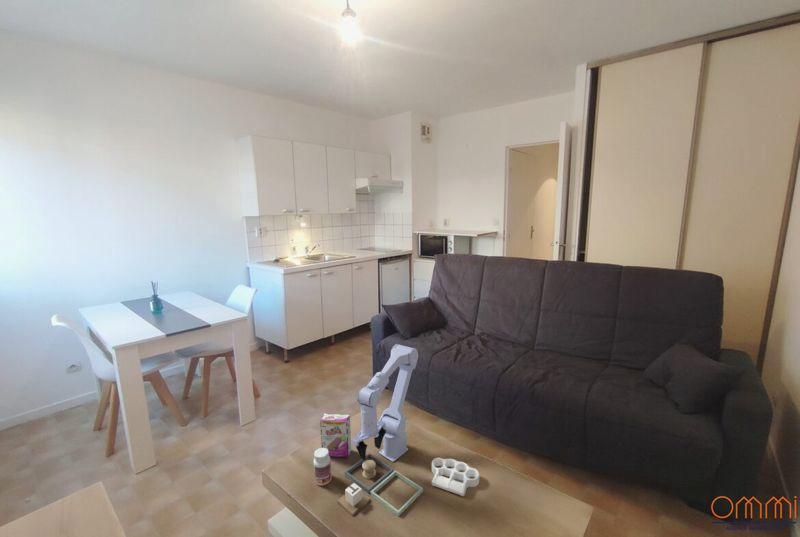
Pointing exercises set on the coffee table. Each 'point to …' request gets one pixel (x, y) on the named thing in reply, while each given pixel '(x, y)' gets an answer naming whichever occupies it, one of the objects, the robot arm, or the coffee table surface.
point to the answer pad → (357, 507)
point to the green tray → (386, 504)
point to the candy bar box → (336, 434)
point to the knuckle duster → (453, 475)
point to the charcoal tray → (390, 471)
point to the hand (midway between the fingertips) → (370, 452)
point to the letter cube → (353, 494)
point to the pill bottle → (322, 466)
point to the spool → (369, 469)
